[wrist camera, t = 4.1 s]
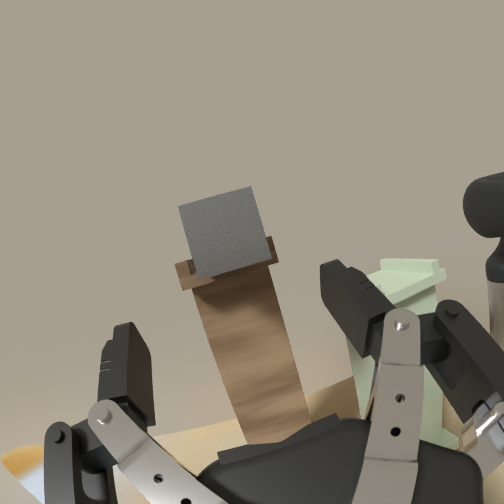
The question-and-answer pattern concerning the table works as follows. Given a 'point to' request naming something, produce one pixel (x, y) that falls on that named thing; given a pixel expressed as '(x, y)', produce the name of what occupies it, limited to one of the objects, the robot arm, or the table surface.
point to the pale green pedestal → (420, 302)
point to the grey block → (224, 232)
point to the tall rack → (251, 348)
